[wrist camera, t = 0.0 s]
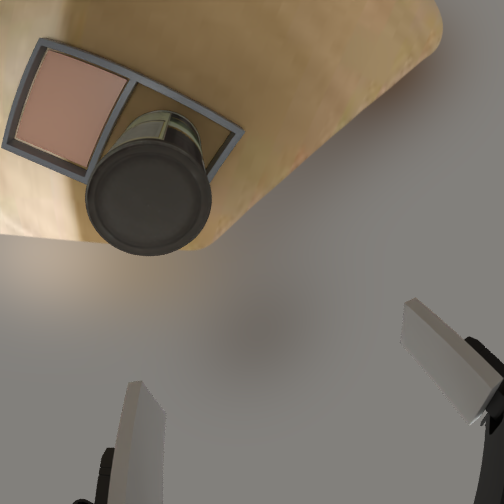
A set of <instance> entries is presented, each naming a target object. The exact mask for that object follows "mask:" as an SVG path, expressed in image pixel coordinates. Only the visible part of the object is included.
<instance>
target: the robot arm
mask: <svg viewBox="0 0 504 504" xmlns="http://www.w3.org/2000/svg"><path fill="white" fill-rule="evenodd" d="M402 324H403V325H402V333H401V340H400V343H401V344H402V345H403V347H404V348H405V349H406V350H407V351H408V352H409V353H410V355H411V356H412V357H413V358H414V359H415V360H416V362H417V363H418V364H419V365H420V366H421V367H422V369H423V370H424V371H425V372H426V373H427V374H428V376H429V377H430V378H431V379H432V380H433V382H434V383H435V384H436V385H437V387H438V388H439V389H440V390H441V391H442V393H443V394H444V395H445V396H446V398H447V399H448V400H449V401H450V403H451V404H452V405H453V406H454V408H455V409H456V410H457V411H458V413H459V414H460V415H461V416H462V418H463V419H464V420H465V422H466V423H467V424H468V426H469V425H471V424H472V423H473V422H474V421H476V420H477V419H478V418H479V417H480V416H481V414H482V413H483V412H484V410H486V411H487V412H488V413H487V414H486V416H485V417H484V419H483V420H482V422H481V425H480V426H482V425H483V424H484V423H485V421H486V424H485V426H486V430H485V442H484V451H483V460H482V467H481V472H480V478H479V483H478V488H477V492H476V496H475V501H474V504H504V364H503V363H502V362H501V361H500V360H499V359H498V358H497V357H496V356H495V355H493V354H492V353H491V352H490V351H489V350H488V349H487V348H485V346H484V345H483V344H482V343H481V342H479V341H478V340H476V339H474V338H472V337H467V338H466V339H465V340H464V339H462V338H461V337H460V336H459V335H458V334H457V333H456V332H455V331H454V330H453V329H451V328H450V327H449V326H448V325H447V324H446V323H445V322H443V321H442V320H441V319H440V318H439V317H438V316H437V315H436V314H434V313H433V312H432V311H431V310H430V309H429V308H428V307H426V306H425V305H424V304H423V303H422V302H420V301H419V300H418V299H417V298H414V299H412V300H410V301H407V302H405V303H404V313H403V323H402ZM165 421H166V413H165V411H164V410H163V409H162V407H161V406H160V405H159V403H158V402H157V401H156V400H155V398H154V397H153V395H152V394H151V393H150V391H149V390H148V389H147V387H146V386H145V384H144V383H143V382H142V381H136V382H129V383H128V387H127V391H126V395H125V400H124V404H123V409H122V413H121V419H120V423H119V428H118V434H117V440H116V445H115V448H107V449H106V451H105V452H104V454H103V456H102V459H101V464H100V467H101V468H100V470H99V477H98V483H97V489H96V497H95V503H94V504H163V459H164V438H165V437H164V436H165ZM73 504H93V503H91V502H90V501H88V500H85V499H79V500H76V501H75V502H74V503H73Z"/></svg>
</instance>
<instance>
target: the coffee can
mask: <svg viewBox="0 0 504 504" xmlns="http://www.w3.org/2000/svg"><path fill="white" fill-rule="evenodd" d="M85 203H86V209H87V213H88V216H89V219H90V221H91V223H92V225H93V226H94V228H95V229H96V231H97V232H98V233H99V235H100V236H101V237H102V238H103V239H105V240H106V241H107V242H108V243H110V244H111V245H112V246H114V247H115V248H117V249H119V250H122V251H124V252H127V253H130V254H134V255H141V256H158V255H164V254H168V253H171V252H173V251H176V250H178V249H180V248H182V247H184V246H185V245H187V244H188V243H190V242H191V241H192V240H193V239H194V238H196V237H197V235H198V234H199V233H200V232H201V230H202V229H203V227H204V226H205V224H206V222H207V219H208V217H209V214H210V210H211V204H212V195H211V188H210V184H209V181H208V177H207V175H206V170H205V166H204V161H203V156H202V150H201V141H200V137H199V134H198V132H197V130H196V128H195V127H194V125H193V124H192V123H191V122H190V121H189V120H188V119H187V118H185V117H184V116H182V115H180V114H178V113H176V112H172V111H168V110H157V111H152V112H149V113H146V114H143V115H141V116H139V117H138V118H136V119H135V120H134V121H133V122H132V123H131V124H130V125H129V126H128V128H127V129H126V130H125V132H124V133H123V134H122V136H121V137H120V138H119V139H118V140H117V142H116V143H115V144H114V145H113V147H112V148H111V149H110V150H109V152H108V153H107V154H106V155H105V156H104V157H103V158H102V159H101V160H100V161H99V162H98V163H97V165H96V166H95V168H94V169H93V171H92V173H91V175H90V177H89V180H88V183H87V187H86V193H85Z"/></svg>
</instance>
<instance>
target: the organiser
mask: <svg viewBox="0 0 504 504" xmlns="http://www.w3.org/2000/svg"><path fill="white" fill-rule="evenodd" d="M47 47H48V48H51V49H55V50H58V51H61V52H64V53H67V54H69V55H72V56H75V57H78V58H81V59H83V60H86V61H89V62H91V63H94V64H96V65H99V66H101V67H104V68H106V69H109V70H111V71H114V72H116V73H118V74H121V75H123V76H125V77H127V78H130V80H129V82H128V84H127V85H126V87H125V89H124V91H123V93H122V94H121V96H120V98H119V100H118V102H117V104H116V106H115V108H114V110H113V112H112V114H111V116H110V118H109V120H108V122H107V124H106V126H105V128H104V131H103V133H102V135H101V137H100V140H99V142H98V144H97V147H96V149H95V151H94V154H93V156H92V159H91V161H90V164H89V166H88V169H87V170H85V169H83V168H81V167H78V166H76V165H74V164H71V163H69V162H67V161H64V160H62V159H60V158H57V157H55V156H53V155H50V154H48V153H46V152H43V151H41V150H39V149H36V148H34V147H32V146H29V145H27V144H24V143H22V142H20V141H17V140H15V139H14V136H15V132H16V129H17V125H18V121H19V118H20V115H21V112H22V108H23V105H24V102H25V100H26V97H27V94H28V91H29V89H30V86H31V83H32V81H33V78H34V76H35V73H36V71H37V69H38V66H39V64H40V62H41V60H42V58H43V55H44V53H45V51H46V49H47ZM126 82H127V79H125V78H122V77H120V76H118V75H115V74H113V73H111V72H108V71H106V70H103V69H101V68H98V67H96V66H93V65H91V64H88V63H85V62H83V61H80V60H77V59H75V58H72V57H69V56H66V55H63V54H60V53H57V52H54V51H51V50H48V52H47V54H46V56H45V58H44V60H43V62H42V65H41V67H40V69H39V71H38V74H37V76H36V79H35V81H34V84H33V86H32V89H31V91H30V94H29V97H28V100H27V103H26V106H25V109H24V112H23V115H22V118H21V121H20V125H19V128H18V132H17V136H16V138H19V139H21V140H24V141H26V142H28V143H31V144H33V145H35V146H38V147H40V148H43V149H45V150H47V151H50V152H52V153H54V154H57V155H59V156H61V157H64V158H66V159H68V160H71V161H73V162H75V163H78V164H80V165H82V166H85V167H87V165H88V163H89V160H90V157H91V155H92V152H93V150H94V148H95V145H96V143H97V140H98V138H99V136H100V134H101V131H102V129H103V127H104V125H105V123H106V121H107V119H108V116H109V114H110V112H111V110H112V108H113V106H114V104H115V102H116V101H117V99H118V97H119V95H120V93H121V91H122V89H123V88H124V86H125V84H126ZM138 82H139V83H141V84H143V85H145V86H147V87H149V88H151V89H153V90H156V91H158V92H160V93H162V94H164V95H166V96H168V97H170V98H172V99H174V100H176V101H178V102H180V103H181V104H183V105H185V106H187V107H189V108H191V109H193V110H195V111H197V112H198V113H200V114H202V115H204V116H206V117H207V118H209V119H211V120H213V121H215V122H216V123H218V124H220V125H222V126H223V127H225V128H227V129H229V130H230V131H232V132H231V133H230V135H229V136H228V138H227V139H226V140H225V142H224V143H223V145H222V146H221V148H220V149H219V151H218V152H217V154H216V155H215V157H214V158H213V160H212V161H211V163H210V164H209V166H208V167H207V169H206V175H207V177H208V181H209V183H210V182H211V180H212V179H213V177H214V176H215V174H216V173H217V171H218V170H219V168H220V167H221V165H222V164H223V163H224V161H225V160H226V158H227V157H228V155H229V154H230V152H231V151H232V150H233V148H234V147H235V145H236V144H237V143H238V141H239V140H240V138H241V137H242V136H243V134H244V133H245V131H244V129H243V128H242V127H240V126H238V125H237V124H235V123H233V122H232V121H230V120H228V119H227V118H225V117H223V116H222V115H220V114H218V113H216V112H215V111H213V110H211V109H209V108H208V107H206V106H204V105H202V104H200V103H199V102H197V101H195V100H193V99H191V98H189V97H187V96H185V95H184V94H182V93H180V92H178V91H176V90H174V89H172V88H170V87H168V86H166V85H164V84H162V83H160V82H158V81H156V80H154V79H151V78H149V77H147V76H145V75H143V74H141V73H139V72H136V71H134V70H132V69H130V68H127V67H125V66H123V65H120V64H118V63H115V62H113V61H111V60H108V59H106V58H103V57H101V56H98V55H95V54H93V53H90V52H87V51H85V50H82V49H79V48H76V47H73V46H70V45H67V44H64V43H61V42H58V41H55V40H52V39H48V38H39V40H38V42H37V44H36V46H35V48H34V50H33V52H32V55H31V57H30V59H29V61H28V64H27V66H26V69H25V71H24V73H23V76H22V79H21V81H20V84H19V87H18V89H17V92H16V95H15V98H14V101H13V104H12V108H11V111H10V114H9V118H8V121H7V125H6V129H5V133H4V137H3V142H2V146H1V148H3V149H5V150H8V151H10V152H12V153H15V154H17V155H19V156H21V157H24V158H26V159H28V160H31V161H33V162H35V163H38V164H40V165H42V166H45V167H47V168H49V169H52V170H54V171H56V172H59V173H61V174H63V175H66V176H68V177H70V178H72V179H75V180H77V181H79V182H82V183H84V184H86V185H87V183H88V180H89V177H90V175H91V173H92V171H93V169H94V168H95V166H96V165H97V163H98V162H99V160H100V158H101V155H102V153H103V151H104V148H105V146H106V144H107V142H108V139H109V137H110V135H111V133H112V131H113V129H114V127H115V125H116V123H117V121H118V119H119V117H120V115H121V113H122V111H123V109H124V107H125V105H126V103H127V101H128V99H129V98H130V96H131V94H132V92H133V91H134V89H135V87H136V85H137V84H138Z"/></svg>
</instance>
